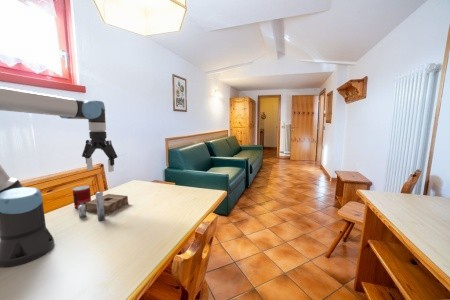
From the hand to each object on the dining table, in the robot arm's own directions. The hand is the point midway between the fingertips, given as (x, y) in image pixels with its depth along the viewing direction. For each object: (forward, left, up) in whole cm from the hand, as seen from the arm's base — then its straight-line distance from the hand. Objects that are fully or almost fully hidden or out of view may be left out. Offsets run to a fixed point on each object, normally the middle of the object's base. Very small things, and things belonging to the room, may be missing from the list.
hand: (100, 170), depth 105 cm
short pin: (-10, +3, -22) cm, 24 cm away
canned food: (0, +15, -22) cm, 27 cm away
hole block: (+2, -1, -22) cm, 22 cm away
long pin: (-10, -9, -22) cm, 25 cm away
